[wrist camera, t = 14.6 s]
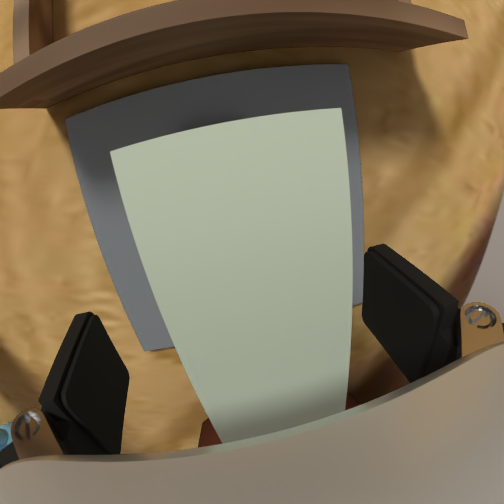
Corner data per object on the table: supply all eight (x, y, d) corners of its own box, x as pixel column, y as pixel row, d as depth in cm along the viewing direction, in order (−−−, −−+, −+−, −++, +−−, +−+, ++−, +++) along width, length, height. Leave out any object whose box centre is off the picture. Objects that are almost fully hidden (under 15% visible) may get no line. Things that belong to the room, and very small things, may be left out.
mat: (359, 298, 24) (362, 302, 23) (145, 346, 23) (144, 351, 22) (344, 65, 16) (348, 64, 16) (68, 119, 15) (64, 119, 14)
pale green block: (274, 293, 21) (338, 453, 10) (219, 305, 21) (242, 477, 9) (245, 118, 16) (341, 108, 5) (177, 132, 16) (110, 151, 4)
